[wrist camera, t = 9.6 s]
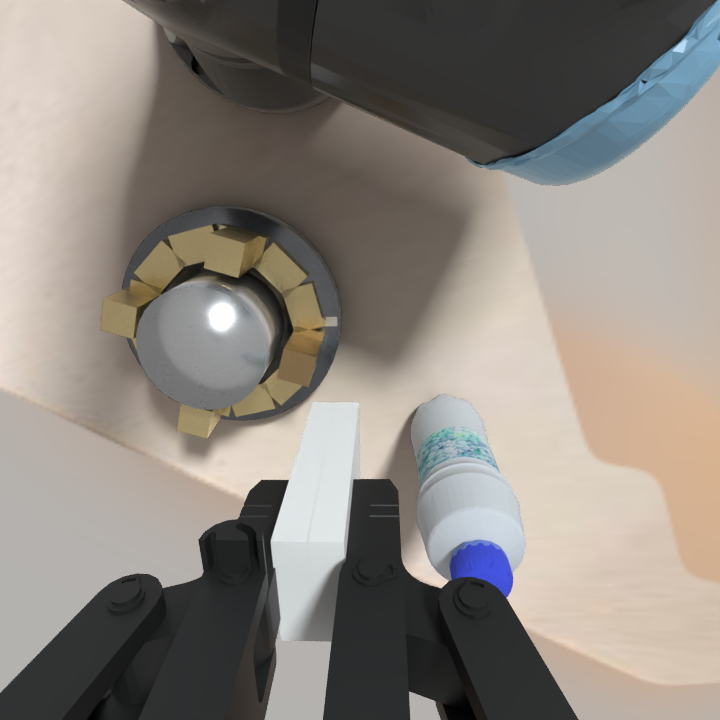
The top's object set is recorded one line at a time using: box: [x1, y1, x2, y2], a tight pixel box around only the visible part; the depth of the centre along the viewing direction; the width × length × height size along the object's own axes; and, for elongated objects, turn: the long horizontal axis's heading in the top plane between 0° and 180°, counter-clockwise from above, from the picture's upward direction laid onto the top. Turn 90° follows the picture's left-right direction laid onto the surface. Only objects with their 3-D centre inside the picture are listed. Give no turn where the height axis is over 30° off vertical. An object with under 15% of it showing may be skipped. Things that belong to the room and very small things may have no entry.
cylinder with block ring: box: [100, 223, 326, 439], centre depth 38 cm, size 15×15×5 cm
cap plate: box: [122, 206, 342, 420], centre depth 39 cm, size 18×18×9 cm
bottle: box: [411, 394, 526, 597], centre depth 36 cm, size 7×7×20 cm
